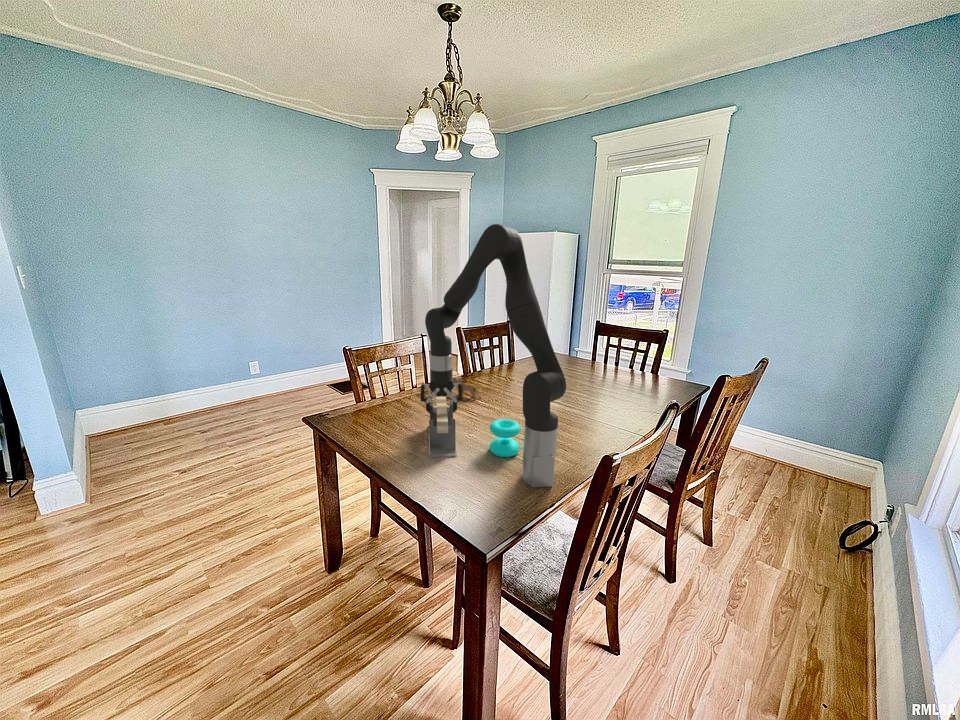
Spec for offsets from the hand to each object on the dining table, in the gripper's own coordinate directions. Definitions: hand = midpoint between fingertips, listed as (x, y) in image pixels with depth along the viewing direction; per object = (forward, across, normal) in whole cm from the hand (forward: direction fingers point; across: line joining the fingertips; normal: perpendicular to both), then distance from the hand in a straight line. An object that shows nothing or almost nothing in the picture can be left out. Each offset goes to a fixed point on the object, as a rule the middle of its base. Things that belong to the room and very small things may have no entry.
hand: (441, 411), depth 132 cm
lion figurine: (+11, +12, +41) cm, 44 cm away
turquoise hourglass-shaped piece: (+11, +20, -10) cm, 25 cm away
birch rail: (+3, 0, 0) cm, 3 cm away
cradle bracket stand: (+11, 0, 0) cm, 11 cm away
